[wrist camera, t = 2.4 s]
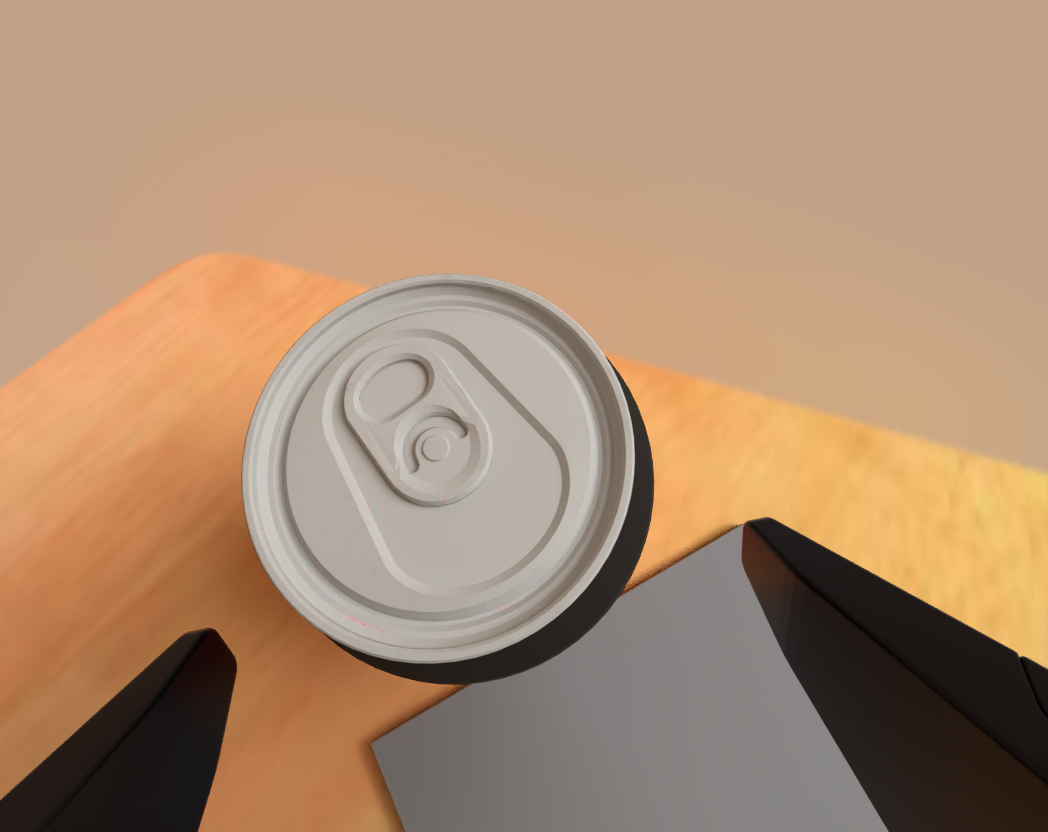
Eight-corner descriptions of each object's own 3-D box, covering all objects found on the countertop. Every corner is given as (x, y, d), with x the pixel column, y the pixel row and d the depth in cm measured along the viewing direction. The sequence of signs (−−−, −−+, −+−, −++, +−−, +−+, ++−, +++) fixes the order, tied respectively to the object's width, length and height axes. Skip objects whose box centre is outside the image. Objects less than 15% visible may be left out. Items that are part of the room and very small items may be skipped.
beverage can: (485, 656, 17) (349, 856, 5) (386, 502, 18) (117, 400, 7) (634, 541, 18) (793, 499, 6) (527, 402, 19) (494, 163, 8)
